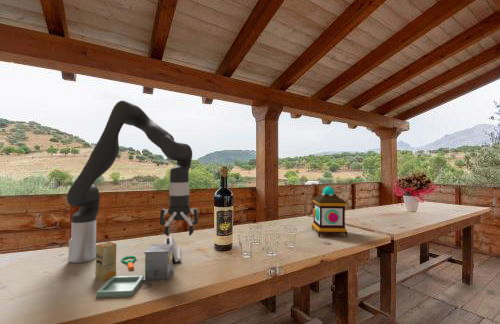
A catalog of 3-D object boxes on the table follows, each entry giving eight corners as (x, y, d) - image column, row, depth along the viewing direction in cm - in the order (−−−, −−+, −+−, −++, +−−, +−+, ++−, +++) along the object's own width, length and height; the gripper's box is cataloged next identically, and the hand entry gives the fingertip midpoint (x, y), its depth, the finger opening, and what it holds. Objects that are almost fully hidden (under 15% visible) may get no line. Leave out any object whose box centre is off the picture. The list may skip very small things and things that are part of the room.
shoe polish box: (108, 272, 96) (109, 241, 96) (115, 275, 93) (116, 243, 93) (95, 277, 91) (95, 245, 91) (102, 280, 89) (103, 247, 89)
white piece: (182, 263, 105) (174, 241, 104) (171, 268, 104) (163, 246, 103) (180, 250, 121) (174, 231, 120) (171, 254, 120) (164, 235, 119)
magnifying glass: (120, 260, 109) (120, 256, 109) (135, 257, 112) (135, 253, 112) (122, 272, 96) (122, 268, 96) (139, 269, 99) (139, 265, 99)
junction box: (142, 282, 88) (142, 252, 88) (150, 270, 97) (150, 244, 97) (168, 281, 89) (168, 252, 89) (174, 270, 98) (174, 243, 98)
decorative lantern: (350, 238, 143) (350, 187, 144) (316, 238, 143) (317, 187, 144) (338, 229, 163) (338, 185, 164) (309, 229, 163) (309, 184, 164)
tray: (96, 297, 77) (96, 292, 77) (112, 281, 88) (112, 276, 88) (132, 296, 78) (132, 290, 78) (143, 280, 89) (144, 275, 89)
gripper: (158, 195, 91) (157, 238, 90) (196, 194, 92) (196, 237, 92) (163, 193, 98) (162, 233, 98) (198, 192, 99) (198, 232, 99)
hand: (179, 235), depth 95 cm, fingers open, 8 cm apart
